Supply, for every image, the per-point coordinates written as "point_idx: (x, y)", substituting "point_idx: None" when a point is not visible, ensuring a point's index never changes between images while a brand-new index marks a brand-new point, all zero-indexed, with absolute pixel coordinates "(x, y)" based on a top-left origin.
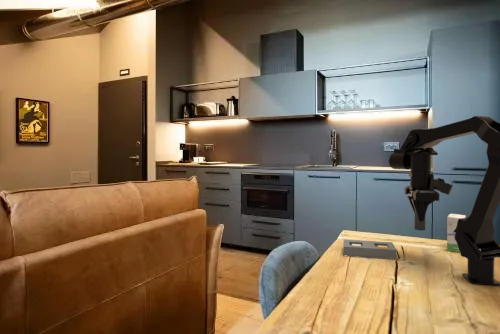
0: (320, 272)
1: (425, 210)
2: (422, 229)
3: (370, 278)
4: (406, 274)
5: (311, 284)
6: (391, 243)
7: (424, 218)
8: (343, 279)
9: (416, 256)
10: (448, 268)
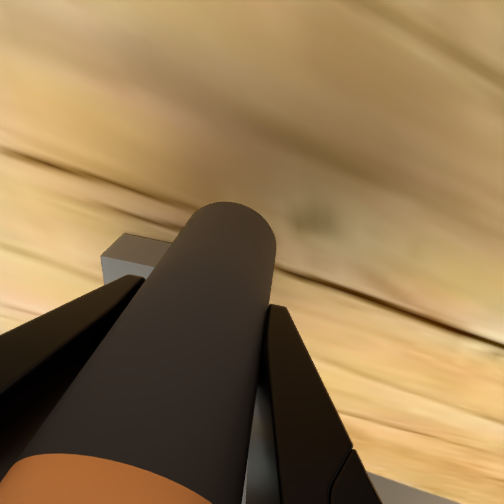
0: (392, 467)
1: (359, 482)
2: (275, 247)
3: (470, 399)
4: (462, 297)
5: (474, 494)
6: (129, 267)
7: (251, 303)
8: (459, 447)
9: (194, 150)
10: (419, 57)
